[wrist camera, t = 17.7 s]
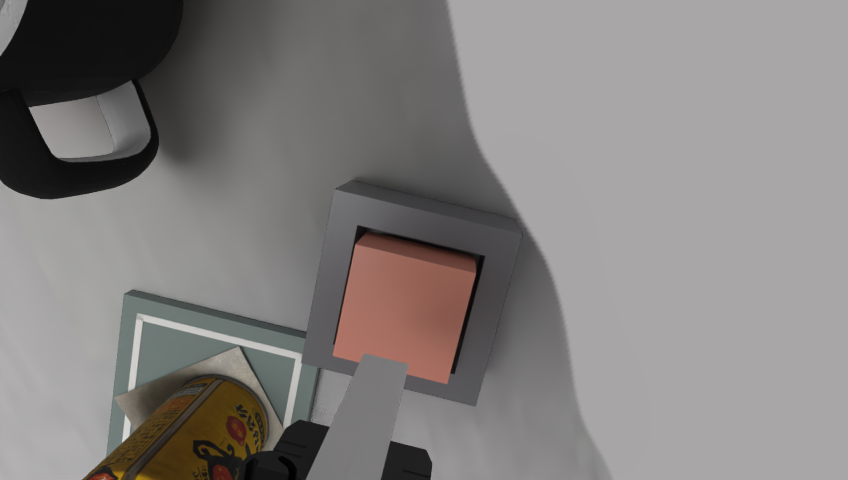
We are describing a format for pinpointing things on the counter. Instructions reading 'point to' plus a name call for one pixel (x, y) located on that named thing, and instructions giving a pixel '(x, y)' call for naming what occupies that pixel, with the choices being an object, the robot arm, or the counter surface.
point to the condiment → (194, 424)
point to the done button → (405, 304)
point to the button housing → (430, 226)
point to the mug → (79, 86)
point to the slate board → (206, 354)
